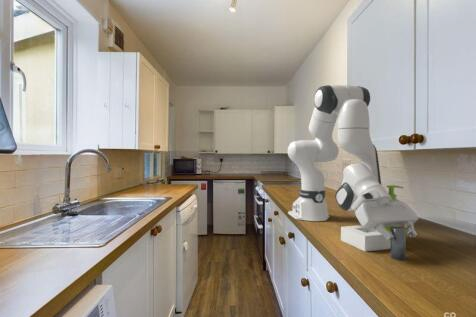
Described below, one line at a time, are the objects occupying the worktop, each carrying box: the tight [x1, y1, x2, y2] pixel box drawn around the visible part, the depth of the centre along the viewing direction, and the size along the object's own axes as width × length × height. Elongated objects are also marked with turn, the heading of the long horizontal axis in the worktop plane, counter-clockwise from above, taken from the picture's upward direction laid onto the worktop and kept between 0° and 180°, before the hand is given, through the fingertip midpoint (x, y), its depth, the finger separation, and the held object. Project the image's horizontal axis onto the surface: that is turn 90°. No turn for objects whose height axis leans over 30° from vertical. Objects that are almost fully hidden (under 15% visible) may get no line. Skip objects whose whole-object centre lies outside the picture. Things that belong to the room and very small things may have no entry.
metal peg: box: [389, 226, 407, 261], centre depth 81 cm, size 4×4×9 cm
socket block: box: [340, 224, 390, 252], centre depth 94 cm, size 12×12×5 cm
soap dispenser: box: [384, 184, 404, 232], centre depth 101 cm, size 6×7×20 cm
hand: (402, 237), depth 80 cm, fingers open, 8 cm apart
